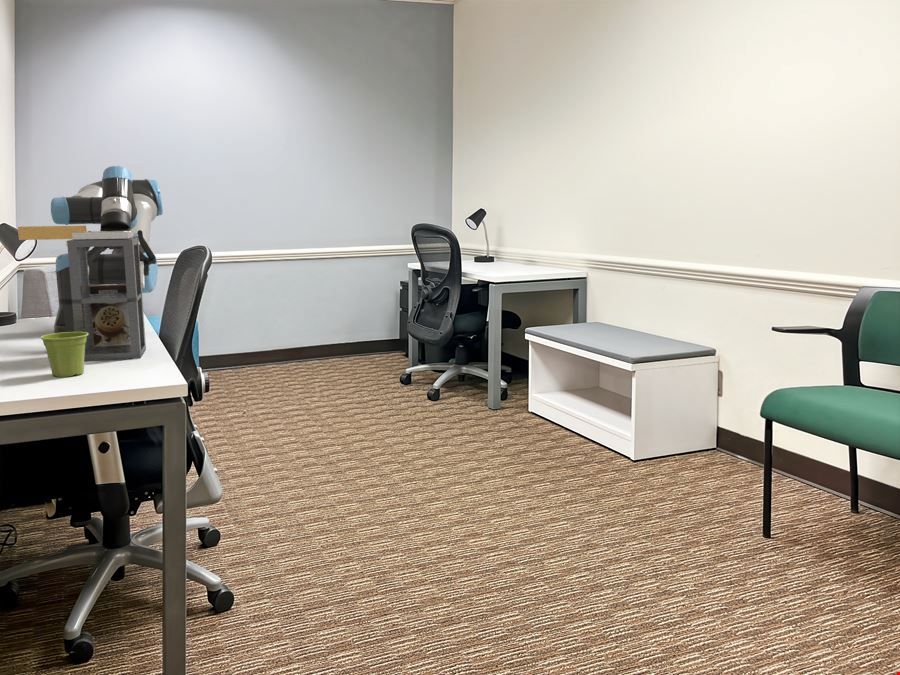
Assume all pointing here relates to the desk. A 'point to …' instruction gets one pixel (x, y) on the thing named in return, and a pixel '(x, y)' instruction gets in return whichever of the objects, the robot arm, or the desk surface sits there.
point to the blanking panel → (68, 233)
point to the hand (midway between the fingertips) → (114, 286)
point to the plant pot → (66, 352)
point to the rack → (107, 298)
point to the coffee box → (110, 317)
